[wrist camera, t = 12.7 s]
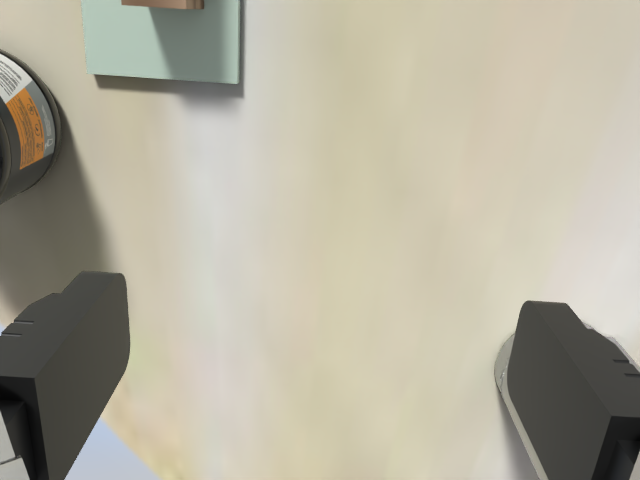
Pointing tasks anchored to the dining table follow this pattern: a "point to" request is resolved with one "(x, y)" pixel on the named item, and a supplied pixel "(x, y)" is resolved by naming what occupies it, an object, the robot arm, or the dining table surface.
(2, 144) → the supplement container
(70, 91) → the dining table surface
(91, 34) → the pin plate
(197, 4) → the block
